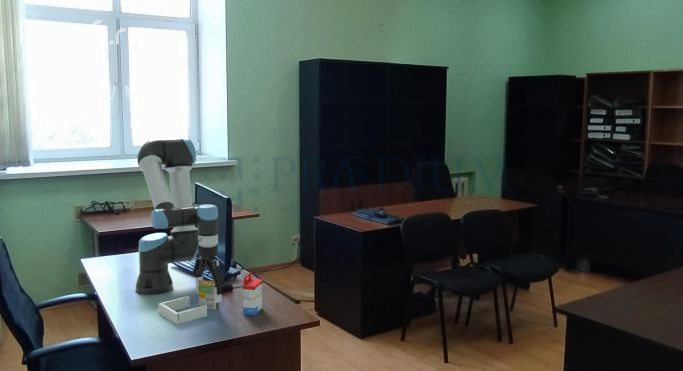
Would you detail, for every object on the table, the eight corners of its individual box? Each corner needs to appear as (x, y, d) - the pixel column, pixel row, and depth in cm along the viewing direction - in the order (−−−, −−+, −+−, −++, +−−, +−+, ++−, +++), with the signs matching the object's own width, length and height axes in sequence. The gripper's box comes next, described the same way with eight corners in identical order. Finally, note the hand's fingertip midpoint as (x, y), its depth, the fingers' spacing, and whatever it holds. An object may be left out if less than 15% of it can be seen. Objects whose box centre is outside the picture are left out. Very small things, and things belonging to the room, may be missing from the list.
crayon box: (219, 307, 229) (218, 279, 227) (216, 310, 226) (215, 281, 224) (201, 305, 230) (201, 277, 228) (198, 308, 227) (198, 279, 225)
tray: (158, 313, 221) (158, 303, 220) (188, 305, 229) (188, 296, 229) (176, 324, 211) (176, 314, 210) (206, 316, 219) (206, 306, 219)
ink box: (254, 315, 221) (254, 279, 219) (242, 314, 222) (242, 277, 219) (262, 308, 229) (262, 272, 227) (250, 306, 230) (250, 271, 228)
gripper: (183, 239, 230) (184, 291, 233) (217, 253, 212) (217, 308, 216) (199, 237, 235) (200, 287, 239) (234, 250, 218) (234, 303, 221)
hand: (208, 297), depth 227 cm, fingers open, 13 cm apart
